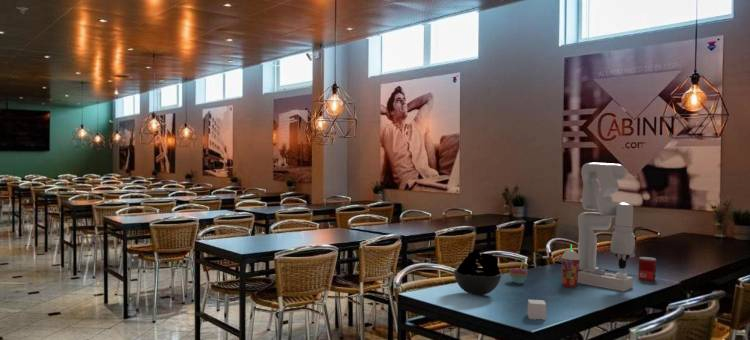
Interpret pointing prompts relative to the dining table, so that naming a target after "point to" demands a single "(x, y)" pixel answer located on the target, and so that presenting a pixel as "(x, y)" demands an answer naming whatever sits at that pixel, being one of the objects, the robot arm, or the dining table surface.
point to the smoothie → (570, 268)
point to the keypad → (605, 281)
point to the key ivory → (621, 275)
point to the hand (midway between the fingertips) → (622, 268)
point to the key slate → (599, 271)
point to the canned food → (647, 268)
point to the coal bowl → (478, 273)
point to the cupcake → (518, 274)
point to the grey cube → (536, 309)
